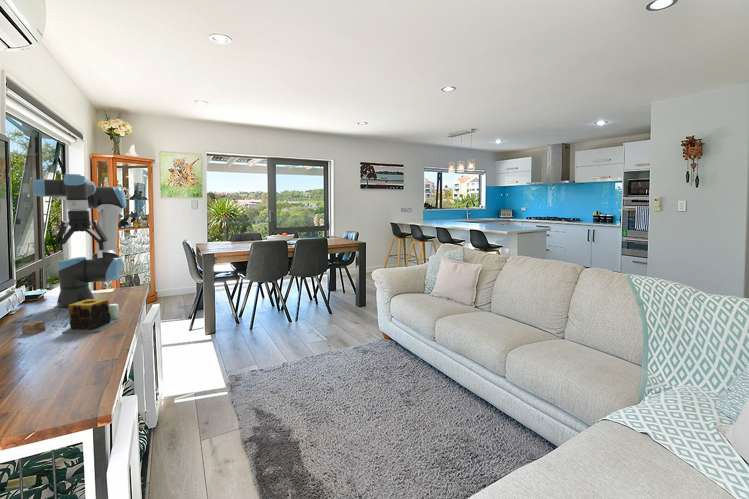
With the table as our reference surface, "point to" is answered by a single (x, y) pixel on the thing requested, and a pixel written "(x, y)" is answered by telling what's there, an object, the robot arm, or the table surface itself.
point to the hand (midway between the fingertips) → (83, 258)
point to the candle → (89, 314)
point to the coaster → (90, 329)
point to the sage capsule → (114, 311)
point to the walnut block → (33, 327)
